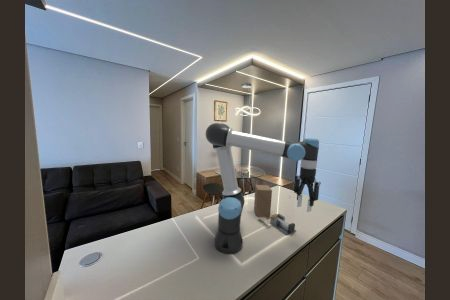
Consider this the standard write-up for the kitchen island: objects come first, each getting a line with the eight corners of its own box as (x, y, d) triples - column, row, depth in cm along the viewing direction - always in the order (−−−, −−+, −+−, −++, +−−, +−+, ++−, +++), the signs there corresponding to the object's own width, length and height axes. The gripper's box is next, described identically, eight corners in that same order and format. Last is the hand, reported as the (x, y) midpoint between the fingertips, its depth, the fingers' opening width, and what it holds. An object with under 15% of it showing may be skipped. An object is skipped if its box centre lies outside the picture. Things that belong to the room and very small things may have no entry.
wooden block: (270, 217, 117) (272, 190, 114) (255, 216, 117) (257, 189, 114) (266, 210, 127) (268, 185, 124) (253, 209, 127) (255, 184, 124)
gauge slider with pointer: (280, 237, 94) (281, 228, 93) (262, 223, 107) (263, 215, 106) (294, 231, 100) (295, 223, 99) (275, 219, 113) (276, 212, 112)
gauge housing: (279, 238, 95) (280, 229, 94) (256, 220, 112) (257, 213, 111) (295, 231, 101) (296, 223, 101) (271, 216, 119) (272, 209, 118)
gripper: (330, 170, 82) (324, 215, 85) (298, 163, 98) (294, 200, 101) (321, 172, 78) (315, 218, 82) (289, 164, 94) (285, 203, 97)
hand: (304, 208), depth 91 cm, fingers open, 5 cm apart
